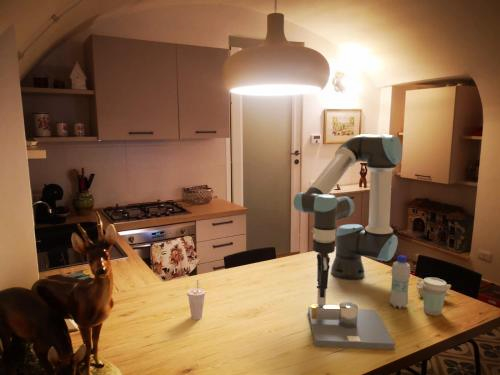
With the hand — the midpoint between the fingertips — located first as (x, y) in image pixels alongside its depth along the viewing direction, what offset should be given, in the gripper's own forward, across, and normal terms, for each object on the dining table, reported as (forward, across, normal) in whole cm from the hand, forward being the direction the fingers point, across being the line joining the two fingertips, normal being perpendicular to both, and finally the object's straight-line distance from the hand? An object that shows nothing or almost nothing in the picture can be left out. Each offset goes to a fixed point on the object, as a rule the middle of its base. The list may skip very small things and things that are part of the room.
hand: (321, 304), depth 132 cm
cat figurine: (+6, -21, +47) cm, 52 cm away
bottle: (+5, -12, +31) cm, 34 cm away
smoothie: (+6, +3, -44) cm, 44 cm away
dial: (+3, +7, +3) cm, 8 cm away
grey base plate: (+5, +7, +8) cm, 12 cm away
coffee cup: (+5, -8, +42) cm, 43 cm away
